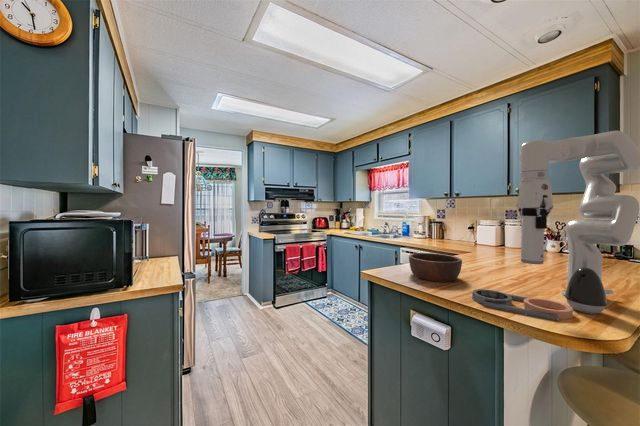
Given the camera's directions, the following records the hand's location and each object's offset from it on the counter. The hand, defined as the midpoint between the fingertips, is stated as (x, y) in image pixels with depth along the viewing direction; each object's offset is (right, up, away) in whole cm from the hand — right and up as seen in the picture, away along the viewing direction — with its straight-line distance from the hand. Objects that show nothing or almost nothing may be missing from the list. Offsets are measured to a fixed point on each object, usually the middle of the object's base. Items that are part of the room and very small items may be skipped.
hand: (533, 227), depth 92 cm
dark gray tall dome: (+17, -29, -1) cm, 34 cm away
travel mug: (0, -13, 0) cm, 13 cm away
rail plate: (-5, -29, +4) cm, 30 cm away
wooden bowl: (-17, -28, +42) cm, 53 cm away
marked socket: (+3, -29, -2) cm, 29 cm away
